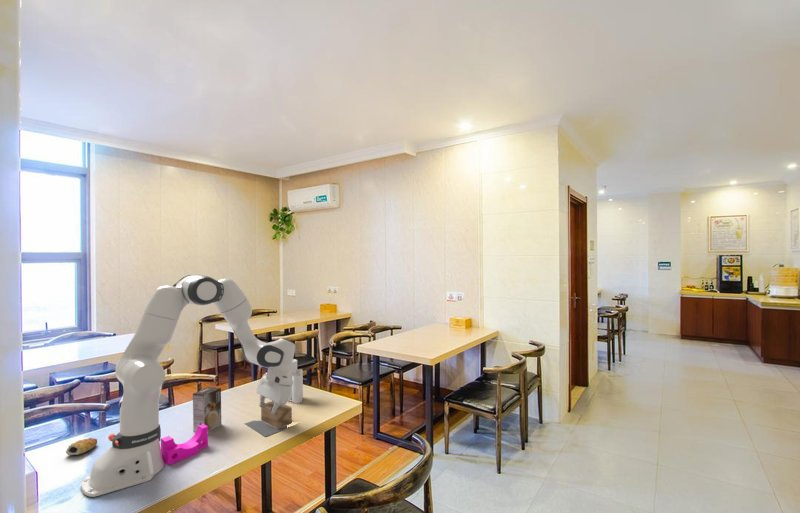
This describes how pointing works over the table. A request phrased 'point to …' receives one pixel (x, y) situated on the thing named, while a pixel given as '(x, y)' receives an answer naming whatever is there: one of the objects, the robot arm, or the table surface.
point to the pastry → (81, 446)
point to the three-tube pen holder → (296, 383)
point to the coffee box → (207, 408)
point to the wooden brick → (276, 415)
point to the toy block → (184, 446)
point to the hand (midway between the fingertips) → (266, 409)
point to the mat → (264, 428)
